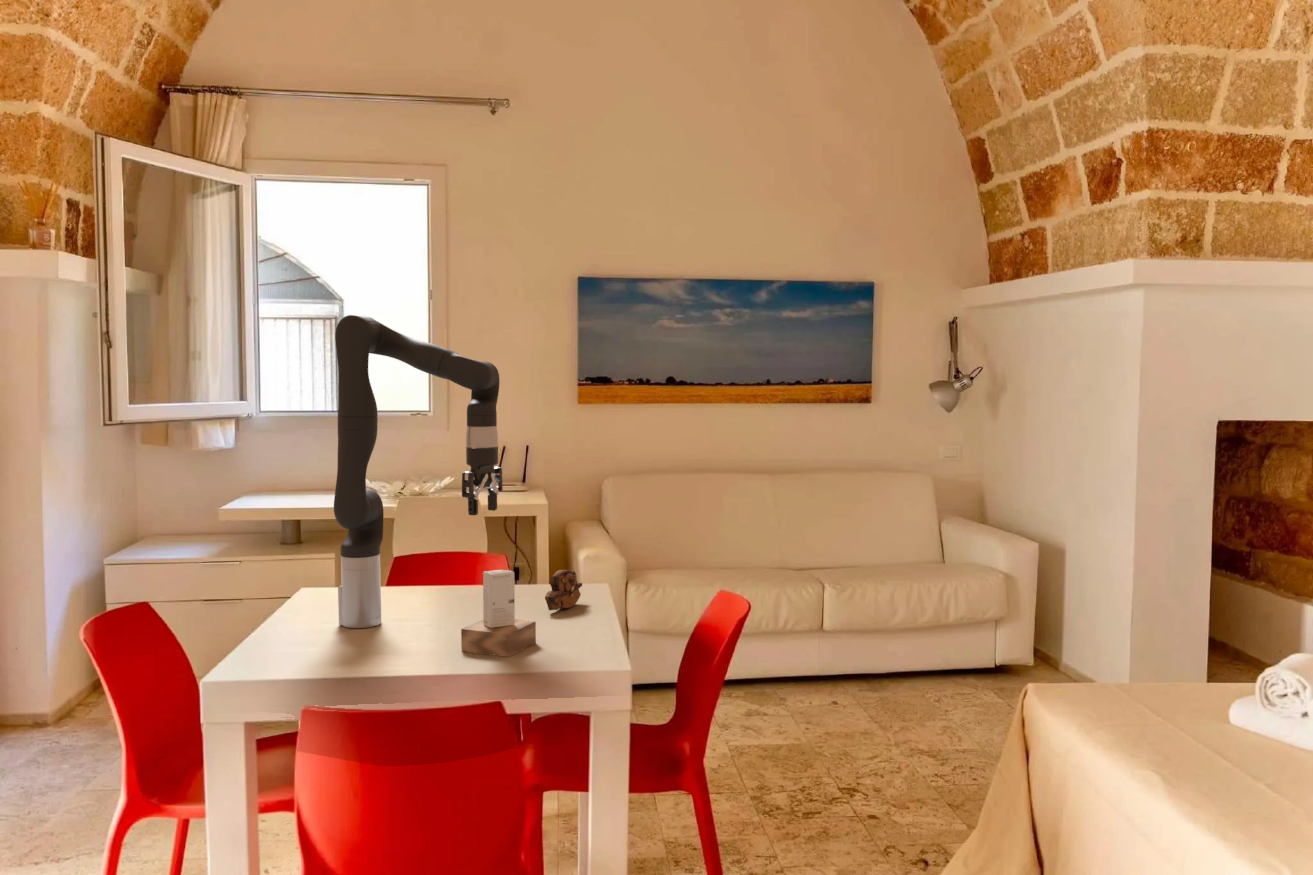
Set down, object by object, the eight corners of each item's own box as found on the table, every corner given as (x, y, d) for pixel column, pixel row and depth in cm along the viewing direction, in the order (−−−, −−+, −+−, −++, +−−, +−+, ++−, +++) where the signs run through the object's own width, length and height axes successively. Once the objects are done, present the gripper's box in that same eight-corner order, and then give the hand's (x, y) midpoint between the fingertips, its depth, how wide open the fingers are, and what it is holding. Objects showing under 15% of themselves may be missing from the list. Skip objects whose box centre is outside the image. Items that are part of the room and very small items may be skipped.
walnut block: (461, 651, 222) (461, 628, 222) (490, 637, 233) (490, 616, 233) (508, 656, 218) (508, 634, 217) (535, 643, 229) (535, 621, 228)
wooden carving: (560, 616, 254) (559, 577, 253) (543, 615, 255) (543, 576, 254) (585, 602, 269) (585, 565, 269) (569, 601, 271) (569, 564, 270)
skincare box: (490, 628, 222) (490, 574, 221) (482, 624, 225) (481, 571, 225) (516, 624, 225) (515, 571, 224) (507, 620, 229) (506, 568, 228)
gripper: (484, 442, 247) (485, 508, 248) (451, 446, 234) (452, 515, 235) (511, 443, 244) (511, 509, 245) (479, 447, 231) (480, 517, 232)
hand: (483, 512), depth 240 cm, fingers open, 8 cm apart
